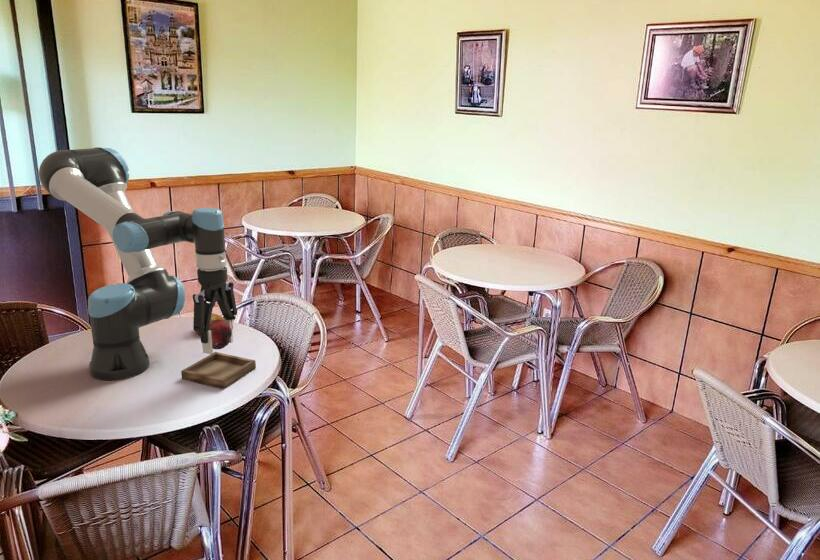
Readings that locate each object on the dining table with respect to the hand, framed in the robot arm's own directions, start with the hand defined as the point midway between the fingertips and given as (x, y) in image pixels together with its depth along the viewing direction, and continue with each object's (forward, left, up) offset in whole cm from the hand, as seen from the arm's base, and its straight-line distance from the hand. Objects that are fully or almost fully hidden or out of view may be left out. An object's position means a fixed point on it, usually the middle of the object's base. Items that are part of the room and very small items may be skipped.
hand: (218, 347), depth 165 cm
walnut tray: (0, 0, -8) cm, 8 cm away
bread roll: (-23, +24, -8) cm, 35 cm away
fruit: (0, 0, 0) cm, 0 cm away
